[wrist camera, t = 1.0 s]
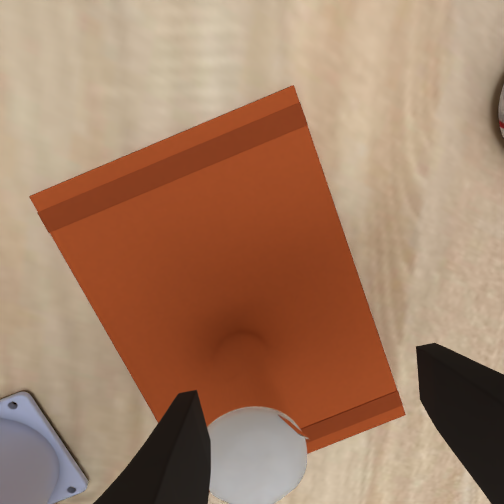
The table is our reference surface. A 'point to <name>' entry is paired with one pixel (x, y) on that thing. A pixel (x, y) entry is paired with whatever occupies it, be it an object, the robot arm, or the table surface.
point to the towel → (228, 266)
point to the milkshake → (251, 426)
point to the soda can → (501, 111)
